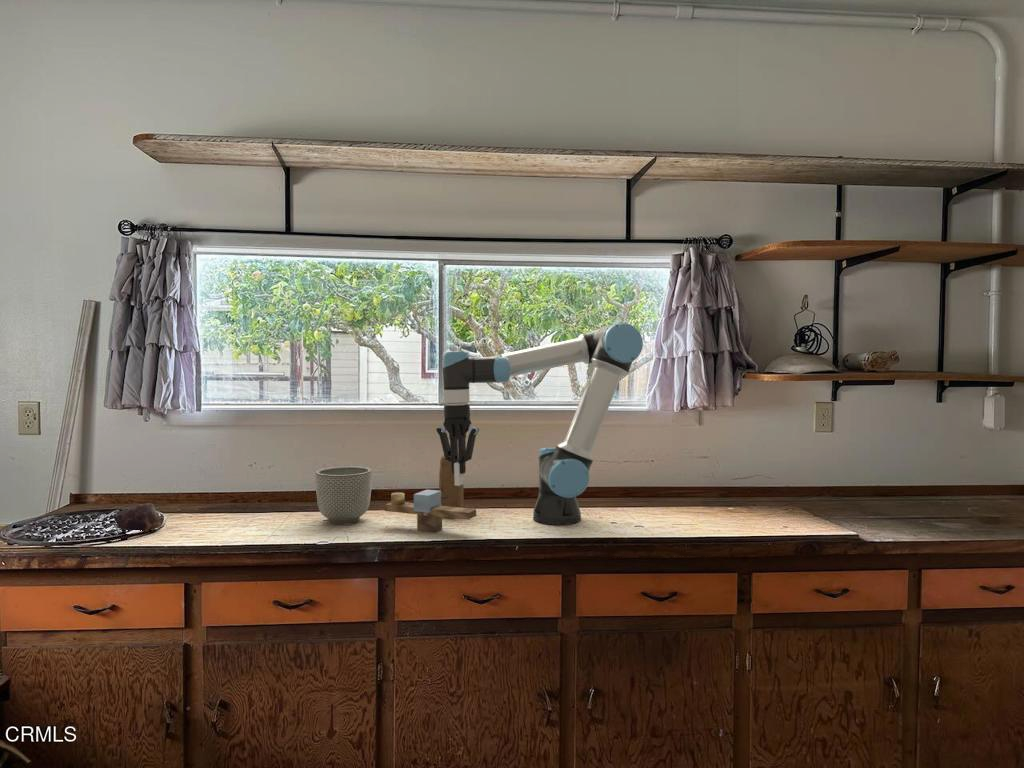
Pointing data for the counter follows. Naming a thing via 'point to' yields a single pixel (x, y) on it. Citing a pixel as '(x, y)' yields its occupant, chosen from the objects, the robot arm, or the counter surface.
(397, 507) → the beam
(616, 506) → the counter surface
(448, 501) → the block
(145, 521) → the rock
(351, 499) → the planter
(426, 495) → the rider
